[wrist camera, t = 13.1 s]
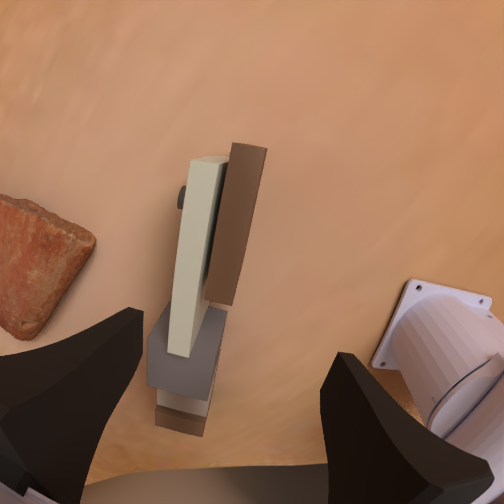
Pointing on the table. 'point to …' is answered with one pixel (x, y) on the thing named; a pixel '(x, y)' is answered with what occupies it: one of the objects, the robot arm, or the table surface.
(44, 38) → the table surface
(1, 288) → the ceramic shard
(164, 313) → the grey block
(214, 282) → the door frame
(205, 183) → the cream bar
